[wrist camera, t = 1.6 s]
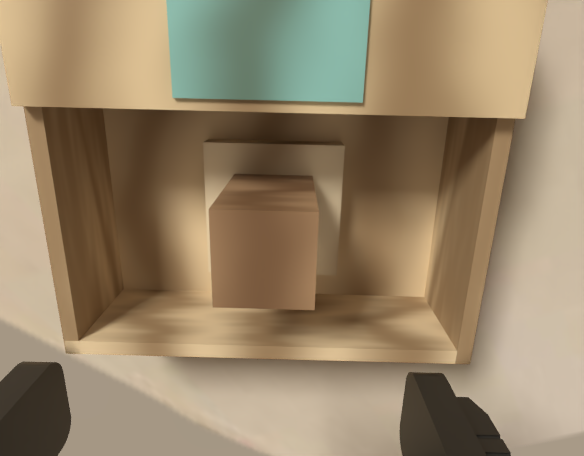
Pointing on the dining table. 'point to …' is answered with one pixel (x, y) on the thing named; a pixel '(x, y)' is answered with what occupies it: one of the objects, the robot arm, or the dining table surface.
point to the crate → (271, 163)
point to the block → (264, 243)
